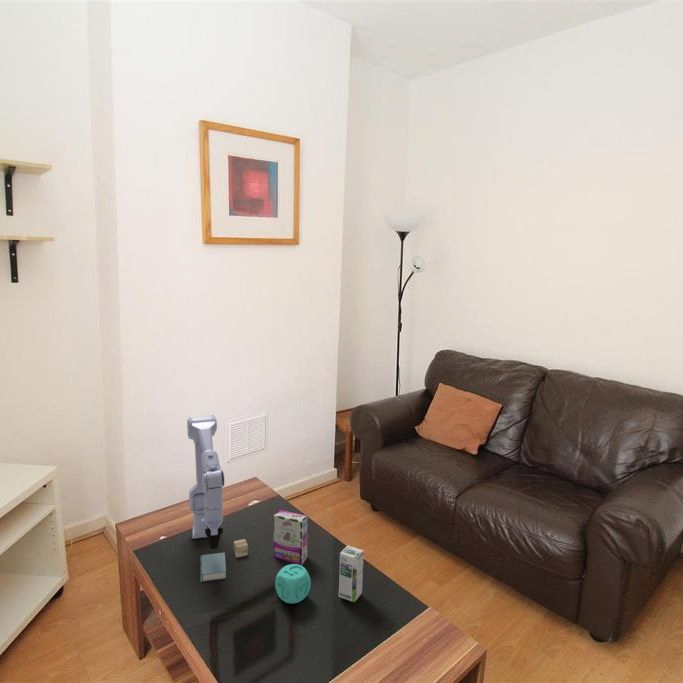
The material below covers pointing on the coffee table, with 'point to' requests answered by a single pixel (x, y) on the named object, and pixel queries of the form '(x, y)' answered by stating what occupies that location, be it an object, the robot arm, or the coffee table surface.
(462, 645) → the coffee table surface
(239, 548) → the beech block
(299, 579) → the decorative dice
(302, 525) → the candy bar box
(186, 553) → the coffee table surface
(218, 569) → the book
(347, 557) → the syrup box
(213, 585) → the coffee table surface
